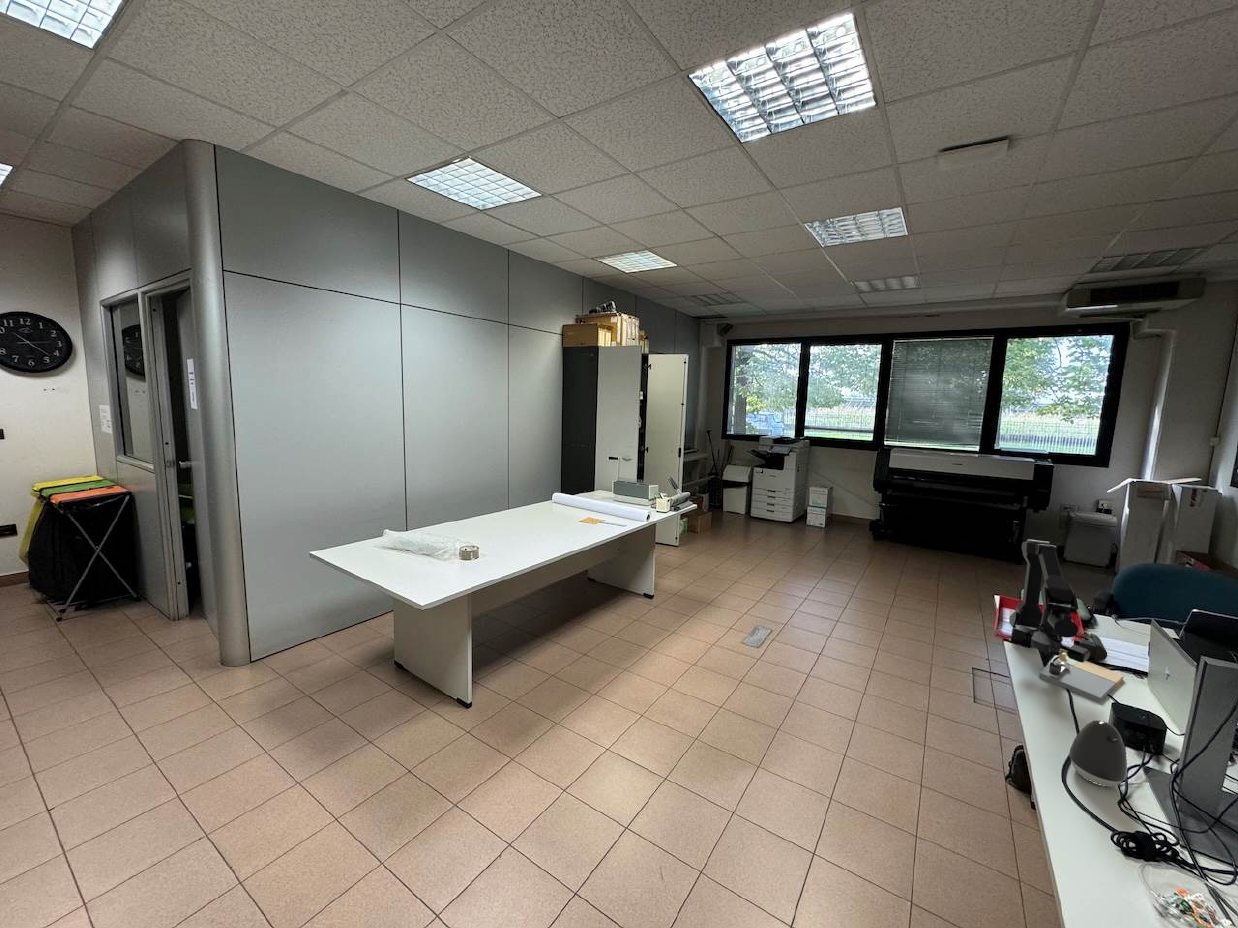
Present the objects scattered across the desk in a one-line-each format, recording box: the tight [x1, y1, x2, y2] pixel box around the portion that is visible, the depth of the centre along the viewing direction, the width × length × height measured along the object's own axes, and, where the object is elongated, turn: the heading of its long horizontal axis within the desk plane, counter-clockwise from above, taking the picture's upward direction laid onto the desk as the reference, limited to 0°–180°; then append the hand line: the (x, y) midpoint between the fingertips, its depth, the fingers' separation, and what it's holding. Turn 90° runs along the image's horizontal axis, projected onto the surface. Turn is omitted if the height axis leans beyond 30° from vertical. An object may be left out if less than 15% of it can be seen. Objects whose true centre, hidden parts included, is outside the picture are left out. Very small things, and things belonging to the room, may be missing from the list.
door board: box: [1038, 652, 1125, 703], centre depth 162 cm, size 15×22×4 cm
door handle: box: [1049, 661, 1070, 678], centre depth 163 cm, size 12×3×4 cm, turn 124°
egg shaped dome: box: [1069, 720, 1128, 788], centre depth 121 cm, size 10×10×15 cm
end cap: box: [1073, 632, 1108, 663], centre depth 175 cm, size 10×7×7 cm
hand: (1044, 666), depth 162 cm, fingers closed
